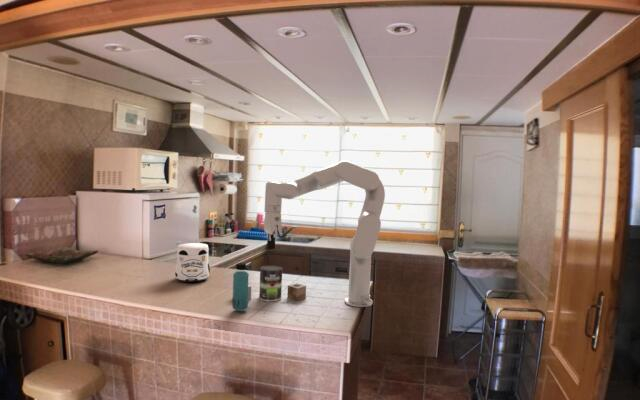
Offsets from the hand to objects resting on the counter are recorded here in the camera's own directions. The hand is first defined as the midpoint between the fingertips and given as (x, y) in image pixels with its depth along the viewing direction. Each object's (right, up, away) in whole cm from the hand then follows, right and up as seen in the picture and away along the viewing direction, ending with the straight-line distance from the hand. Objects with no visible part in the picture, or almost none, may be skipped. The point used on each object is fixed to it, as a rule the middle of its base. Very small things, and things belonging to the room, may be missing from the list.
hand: (270, 248), depth 176 cm
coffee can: (0, -23, +2) cm, 23 cm away
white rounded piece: (-44, -20, +26) cm, 55 cm away
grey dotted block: (-12, -23, 0) cm, 26 cm away
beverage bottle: (-11, -24, -17) cm, 31 cm away
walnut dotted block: (+12, -23, +3) cm, 26 cm away
